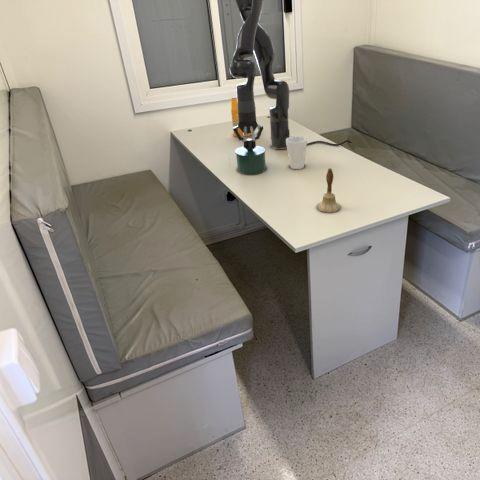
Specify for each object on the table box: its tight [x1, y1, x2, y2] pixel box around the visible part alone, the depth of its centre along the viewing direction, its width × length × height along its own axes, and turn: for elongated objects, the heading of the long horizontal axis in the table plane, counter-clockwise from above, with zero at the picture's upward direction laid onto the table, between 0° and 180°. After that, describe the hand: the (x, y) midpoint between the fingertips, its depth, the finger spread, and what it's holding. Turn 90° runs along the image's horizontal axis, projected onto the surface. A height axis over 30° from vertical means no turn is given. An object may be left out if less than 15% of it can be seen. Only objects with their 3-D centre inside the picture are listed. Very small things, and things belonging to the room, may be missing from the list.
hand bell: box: [317, 168, 340, 214], centre depth 161 cm, size 8×8×16 cm
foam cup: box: [286, 135, 308, 170], centre depth 198 cm, size 10×9×13 cm
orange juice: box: [230, 97, 251, 137], centre depth 237 cm, size 8×9×20 cm
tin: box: [236, 152, 267, 176], centre depth 196 cm, size 13×13×8 cm
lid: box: [234, 138, 266, 157], centre depth 193 cm, size 14×14×6 cm
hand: (249, 148), depth 193 cm, fingers closed on lid, 2 cm apart
